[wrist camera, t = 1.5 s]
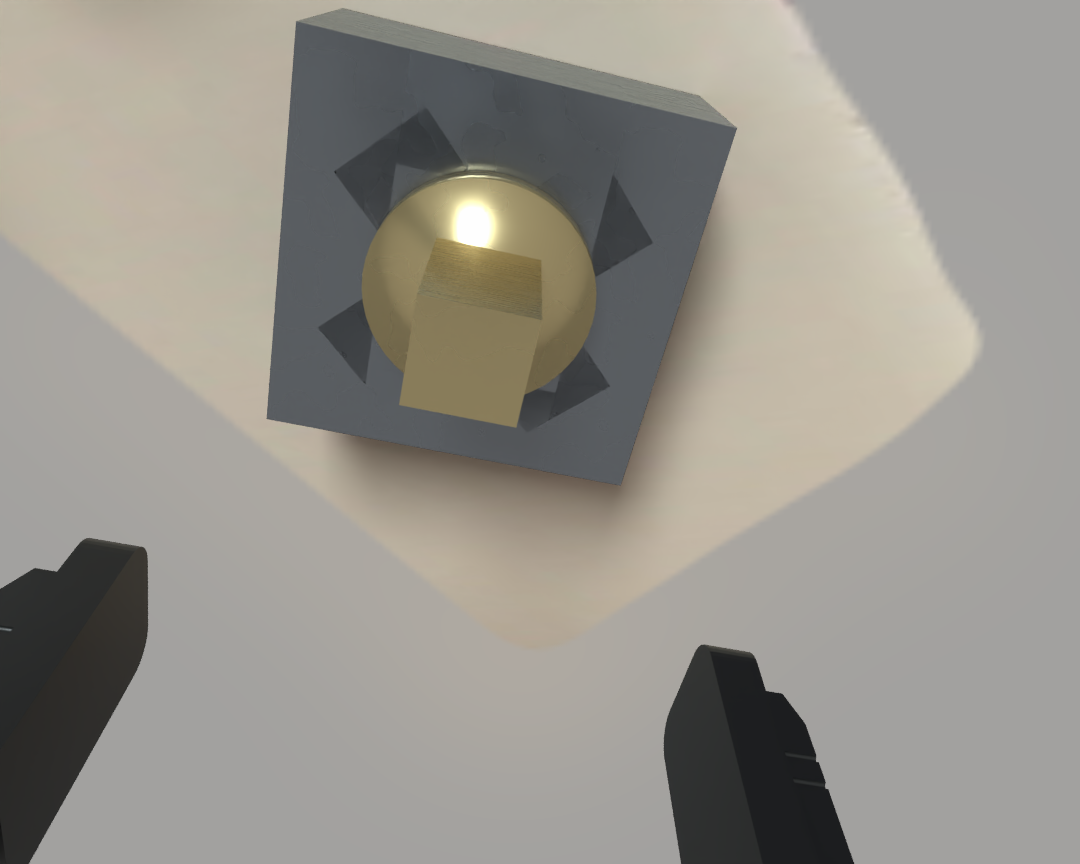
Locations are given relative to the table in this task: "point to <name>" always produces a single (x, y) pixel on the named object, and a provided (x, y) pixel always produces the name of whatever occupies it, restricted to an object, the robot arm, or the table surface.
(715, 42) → the table surface
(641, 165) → the housing
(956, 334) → the table surface
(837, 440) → the table surface
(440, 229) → the end cover
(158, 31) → the table surface
